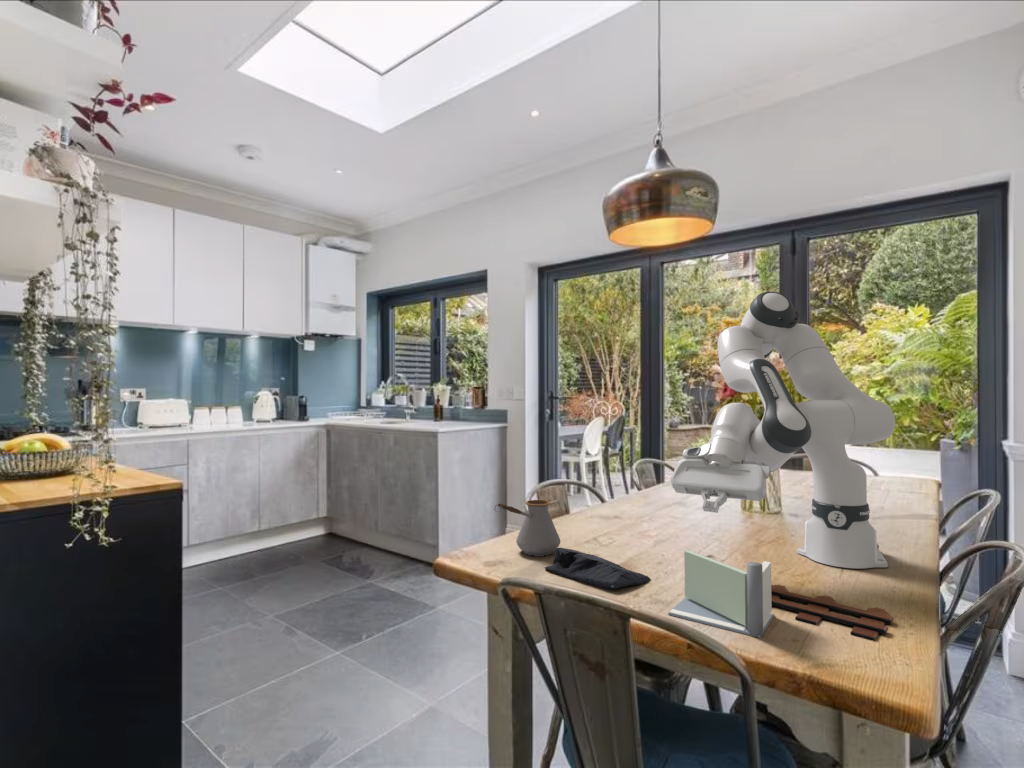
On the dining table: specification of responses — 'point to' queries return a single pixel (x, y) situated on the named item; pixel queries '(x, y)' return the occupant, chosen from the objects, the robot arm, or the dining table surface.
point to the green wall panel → (716, 586)
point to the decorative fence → (820, 608)
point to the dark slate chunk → (593, 570)
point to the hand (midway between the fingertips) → (709, 510)
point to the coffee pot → (536, 529)
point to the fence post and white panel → (758, 596)
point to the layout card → (711, 616)
